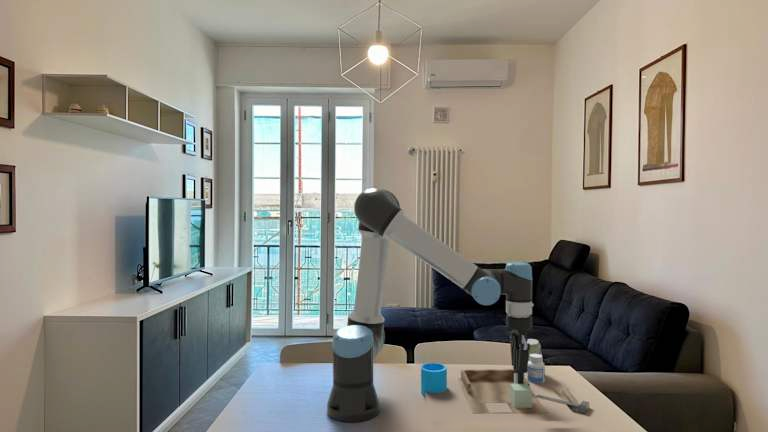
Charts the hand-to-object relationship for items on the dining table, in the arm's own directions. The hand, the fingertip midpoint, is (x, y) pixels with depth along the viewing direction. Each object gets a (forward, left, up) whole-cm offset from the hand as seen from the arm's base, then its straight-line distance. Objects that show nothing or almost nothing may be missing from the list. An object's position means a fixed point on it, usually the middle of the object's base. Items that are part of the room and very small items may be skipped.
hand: (519, 392), depth 141 cm
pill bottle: (+10, +14, -3) cm, 18 cm away
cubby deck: (-5, +3, -3) cm, 7 cm away
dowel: (+16, +2, -3) cm, 17 cm away
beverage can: (+12, +24, -3) cm, 27 cm away
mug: (-24, +10, -3) cm, 27 cm away
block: (-1, -4, -2) cm, 5 cm away
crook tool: (+12, -1, -3) cm, 13 cm away
